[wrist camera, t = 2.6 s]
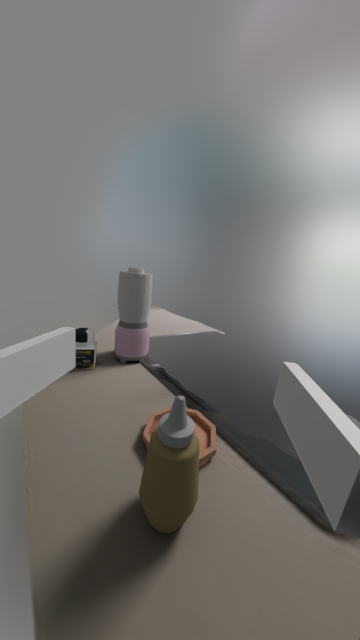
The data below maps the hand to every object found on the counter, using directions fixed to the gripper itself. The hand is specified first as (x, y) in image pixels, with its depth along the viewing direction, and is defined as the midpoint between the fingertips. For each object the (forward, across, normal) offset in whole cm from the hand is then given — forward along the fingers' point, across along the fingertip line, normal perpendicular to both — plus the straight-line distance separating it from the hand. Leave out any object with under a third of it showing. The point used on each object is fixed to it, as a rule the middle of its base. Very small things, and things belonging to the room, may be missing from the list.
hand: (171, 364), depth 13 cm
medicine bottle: (+46, -35, -28) cm, 64 cm away
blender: (+59, -24, -28) cm, 69 cm away
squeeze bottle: (+11, 0, -28) cm, 30 cm away
